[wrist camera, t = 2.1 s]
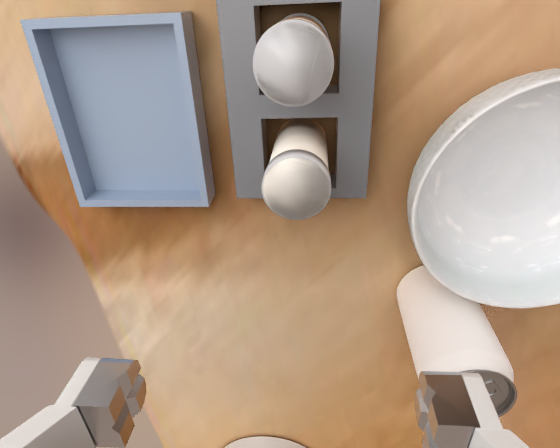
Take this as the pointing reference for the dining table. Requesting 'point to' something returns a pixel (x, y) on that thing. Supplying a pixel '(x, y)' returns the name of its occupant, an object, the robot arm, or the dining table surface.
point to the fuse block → (300, 114)
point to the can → (453, 336)
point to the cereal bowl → (494, 196)
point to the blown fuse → (294, 60)
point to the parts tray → (126, 107)
